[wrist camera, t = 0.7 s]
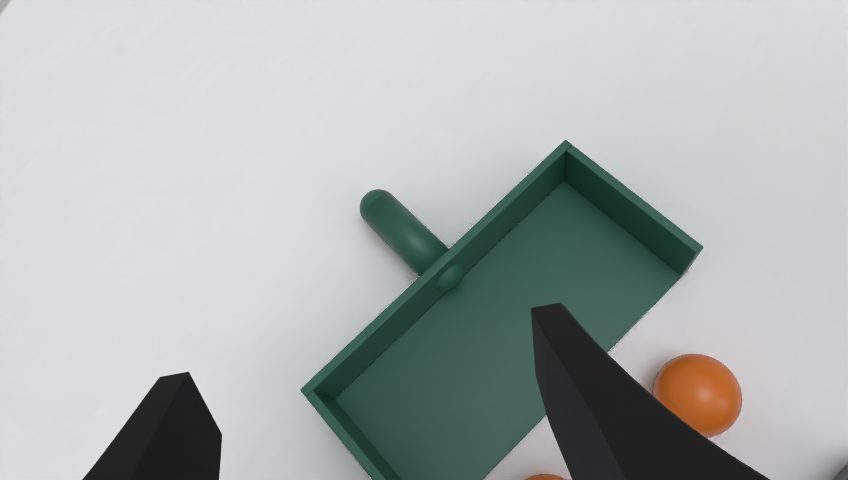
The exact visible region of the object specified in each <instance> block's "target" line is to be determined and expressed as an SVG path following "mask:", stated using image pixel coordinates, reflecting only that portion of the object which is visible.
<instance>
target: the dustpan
mask: <svg viewBox="0 0 848 480" xmlns="http://www.w3.org/2000/svg"><path fill="white" fill-rule="evenodd" d="M563 180H564V181H563ZM562 181H563V182H562ZM561 182H562V183H561ZM560 183H561V184H560ZM559 184H560V185H559ZM558 185H559V186H558ZM547 195H548V196H547ZM546 196H547V197H546ZM545 197H546V198H545ZM544 198H545V199H544ZM543 199H544V200H543ZM542 200H543V201H542ZM541 201H542V202H541ZM540 202H541V203H540ZM539 203H540V204H539ZM538 204H539V205H538ZM537 205H538V206H537ZM360 213H361V216H362V218H363V219H364V220H365V222H366V223H367V224H368V225H369V226H370V227H371V228H372V229H373V230H374V231H375V232H376V233H377V234H378V235H379V236H380V237H381V238H382V239H383V240H384V241H385V242H386V243H387V244H388V245H389V246H390V247H391V248H392V249H393V250H394V251H395V252H396V253H397V254H398V255H399V256H400V257H401V258H402V259H403V260H404V261H405V262H406V263H407V264H408V265H409V266H410V267H411V268H412V269H413V270H414V271H415V272H416V273H417V274H418V275H419V276H420V277H419V278H418V279H417V280H416V281H415V282H414V283H413V284H412V285H411V286H410V287H409V288H408V289H407V290H406V291H404V292H403V293H402V294H401V295H400V296H399V297H398V298H397V299H396V300H395V301H394V302H393V303H392V304H391V305H390V306H389V307H387V308H386V309H385V310H384V311H383V312H382V313H381V314H380V315H379V316H378V317H377V318H376V319H375V320H374V321H373V322H372V323H371V324H369V325H368V326H367V327H366V328H365V329H364V330H363V331H362V332H361V333H360V334H359V335H358V336H357V337H356V338H355V339H354V340H352V341H351V342H350V343H349V344H348V345H347V346H346V347H345V348H344V349H343V350H342V351H341V352H340V353H339V354H338V355H337V356H335V357H334V358H333V359H332V360H331V361H330V362H329V363H328V364H327V365H326V366H325V367H324V368H323V369H322V370H321V371H320V372H318V373H317V374H316V375H315V376H314V377H313V378H312V379H311V380H310V381H309V382H308V383H307V384H306V385H305V386H304V387H303V388H302V389H301V392H302V393H303V394H304V396H306V398H307V399H308V400H309V402H310V403H311V404H312V405H313V407H314V408H315V409H316V410H317V412H318V413H319V414H320V415H321V417H322V418H323V419H324V420H325V421H326V423H327V424H328V425H329V426H330V428H331V429H332V430H333V431H334V433H335V434H336V435H337V436H338V438H339V439H340V440H341V441H342V442H343V444H344V445H345V446H346V447H347V449H348V450H349V451H350V452H351V454H352V455H353V456H354V457H355V459H356V460H357V461H358V462H359V463H360V465H361V466H362V467H363V468H364V470H365V471H366V472H367V473H368V475H369V476H370V477H371V478H372V480H482V479H483V478H484V477H485V476H486V475H487V474H488V473H489V472H490V471H491V470H492V469H493V468H494V467H495V466H496V465H497V464H498V463H499V462H500V461H501V460H502V459H503V458H504V457H505V456H506V455H507V454H508V453H509V452H510V451H511V450H512V449H513V448H514V447H515V446H516V445H517V444H518V443H519V442H520V441H521V440H522V438H523V437H524V436H525V435H526V434H527V433H528V432H529V431H530V430H531V429H532V428H533V427H534V426H535V425H536V424H537V423H538V422H539V421H540V420H541V419H542V418H543V417H544V416H545V415H546V411H545V407H544V404H543V400H542V397H541V393H540V390H539V386H538V383H537V379H536V374H535V360H534V347H533V333H532V319H531V308H533V307H538V306H543V305H549V304H554V303H561V304H563V305H564V306H565V307H566V308H567V309H568V310H569V312H570V313H571V314H572V315H573V316H574V318H575V319H576V320H577V321H578V322H579V323H580V325H581V326H582V327H583V328H584V329H585V330H586V331H587V332H588V334H589V335H590V336H591V337H592V338H593V339H594V340H595V341H596V342H597V343H598V344H599V345H600V346H601V347H602V348H603V349H604V350H605V352H606V353H607V352H608V351H609V350H610V349H611V348H612V347H613V346H614V345H615V344H616V343H617V342H618V341H619V340H620V339H621V338H622V337H623V336H624V335H625V334H626V333H627V332H628V331H629V330H630V329H631V328H632V327H633V326H634V325H635V324H636V323H637V322H638V320H639V319H640V318H641V317H642V316H643V315H644V314H645V313H646V312H647V311H648V310H649V309H650V308H651V307H652V306H653V305H654V304H655V303H656V302H657V301H658V300H659V299H660V298H661V297H662V296H663V295H664V294H665V293H666V292H667V291H668V290H669V289H670V288H671V287H672V286H673V285H674V284H675V283H676V282H677V281H678V280H679V279H680V278H681V277H682V276H683V275H684V274H685V273H686V272H687V271H688V269H689V267H690V266H691V265H692V263H693V262H694V260H695V259H696V257H697V256H698V254H699V253H700V252H701V250H702V249H703V246H702V245H700V244H699V243H698V242H696V241H695V240H694V239H693V238H691V237H690V236H689V235H687V234H686V233H685V232H684V231H682V230H681V229H680V228H678V227H677V226H676V225H675V224H673V223H672V222H671V221H669V220H668V219H667V218H666V217H664V216H663V215H662V214H660V213H659V212H658V211H657V210H655V209H654V208H653V207H651V206H650V205H649V204H648V203H646V202H645V201H644V200H642V199H641V198H640V197H639V196H637V195H636V194H635V193H633V192H632V191H631V190H630V189H628V188H627V187H626V186H624V185H623V184H622V183H621V182H619V181H618V180H617V179H615V178H614V177H613V176H612V175H610V174H609V173H608V172H606V171H605V170H604V169H603V168H601V167H600V166H599V165H597V164H596V163H595V162H594V161H592V160H591V159H590V158H588V157H587V156H586V155H585V154H583V153H582V152H581V151H579V150H578V149H577V148H576V147H574V146H573V145H572V144H570V143H569V142H568V141H567V140H565V141H564V142H563V143H562V144H561V145H559V146H558V147H557V148H556V149H555V150H554V151H553V152H552V153H551V154H550V155H549V156H548V157H547V158H546V159H545V160H544V161H542V162H541V163H540V164H539V165H538V166H537V167H536V168H535V169H534V170H533V171H532V172H531V173H530V174H529V175H528V176H527V177H526V178H524V179H523V180H522V181H521V182H520V183H519V184H518V185H517V186H516V187H515V188H514V189H513V190H512V191H511V192H510V193H509V194H507V195H506V196H505V197H504V198H503V199H502V200H501V201H500V202H499V203H498V204H497V205H496V206H495V207H494V208H493V209H492V210H490V211H489V212H488V213H487V214H486V215H485V216H484V217H483V218H482V219H481V220H480V221H479V222H478V223H477V224H476V225H475V226H473V227H472V228H471V229H470V230H469V231H468V232H467V233H466V234H465V235H464V236H463V237H462V238H461V239H460V240H459V241H458V242H457V243H455V244H454V245H453V246H452V247H451V248H450V249H448V248H447V247H446V246H445V245H444V244H443V243H442V242H441V241H440V240H439V239H438V238H437V237H436V236H435V235H434V234H433V233H431V232H430V231H429V230H428V229H427V228H426V227H425V226H424V225H423V224H422V223H421V222H420V221H419V220H418V219H417V218H416V217H415V216H414V215H413V214H412V213H410V212H409V211H408V210H407V209H406V208H405V207H404V206H403V205H402V204H401V203H400V202H399V201H398V200H397V199H396V198H395V197H394V196H393V195H392V194H390V193H389V192H387V191H385V190H380V189H377V190H372V191H370V192H368V193H367V194H366V195H365V196H364V197H363V199H362V200H361V203H360ZM526 215H527V216H526ZM525 216H526V217H525ZM524 217H525V218H524ZM523 218H524V219H523ZM522 219H523V220H522ZM521 220H522V221H521ZM520 221H521V222H520ZM519 222H520V223H519ZM518 223H519V224H518ZM517 224H518V225H517ZM516 225H517V226H516ZM515 226H516V227H515ZM504 236H505V237H504ZM503 237H504V238H503ZM502 238H503V239H502ZM501 239H502V240H501ZM500 240H501V241H500ZM499 241H500V242H499ZM498 242H499V243H498ZM497 243H498V244H497ZM496 244H497V245H496ZM495 245H496V246H495ZM494 246H495V247H494ZM483 256H484V257H483ZM482 257H483V258H482ZM481 258H482V259H481ZM480 259H481V260H480ZM479 260H480V261H479ZM478 261H479V262H478ZM477 262H478V263H477ZM476 263H477V264H476ZM475 264H476V265H475ZM474 265H475V266H474ZM473 266H474V267H473ZM472 267H473V268H472ZM461 277H462V278H461ZM440 297H441V298H440ZM439 298H440V299H439ZM438 299H439V300H438ZM437 300H438V301H437ZM436 301H437V302H436ZM435 302H436V303H435ZM434 303H435V304H434ZM433 304H434V305H433ZM432 305H433V306H432ZM431 306H432V307H431ZM430 307H431V308H430ZM429 308H430V309H429ZM418 318H419V319H418ZM417 319H418V320H417ZM416 320H417V321H416ZM415 321H416V322H415ZM414 322H415V323H414ZM413 323H414V324H413ZM412 324H413V325H412ZM411 325H412V326H411ZM410 326H411V327H410ZM409 327H410V328H409ZM408 328H409V329H408ZM397 338H398V339H397ZM396 339H397V340H396ZM395 340H396V341H395ZM394 341H395V342H394ZM393 342H394V343H393ZM392 343H393V344H392ZM391 344H392V345H391ZM390 345H391V346H390ZM389 346H390V347H389ZM388 347H389V348H388ZM387 348H388V349H387ZM386 349H387V350H386ZM376 358H377V359H376ZM375 359H376V360H375ZM374 360H375V361H374ZM373 361H374V362H373ZM372 362H373V363H372ZM371 363H372V364H371ZM370 364H371V365H370ZM369 365H370V366H369ZM368 366H369V367H368ZM367 367H368V368H367ZM366 368H367V369H366ZM365 369H366V370H365ZM354 379H355V380H354ZM353 380H354V381H353ZM352 381H353V382H352ZM351 382H352V383H351ZM350 383H351V384H350ZM349 384H350V385H349ZM348 385H349V386H348ZM347 386H348V387H347ZM346 387H347V388H346ZM345 388H346V389H345ZM344 389H345V390H344ZM343 390H344V391H343Z"/></svg>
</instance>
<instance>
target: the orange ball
mask: <svg viewBox="0 0 848 480" xmlns="http://www.w3.org/2000/svg"><path fill="white" fill-rule="evenodd" d="M525 480H566V479H564V478H562V477H559V476H556V475H551V474H539V475H535V476H532V477H529V478H527V479H525Z"/></svg>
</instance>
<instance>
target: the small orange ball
mask: <svg viewBox="0 0 848 480" xmlns="http://www.w3.org/2000/svg"><path fill="white" fill-rule="evenodd" d="M653 396H654V397H655V398H656V399H657V400H658V401H659V402H660V403H662V404H663V405H664V406H665V407H667V408H668V409H669V410H670V411H671V412H673V413H674V414H675V415H676V416H678V417H679V418H680V419H681V420H683V421H684V422H685V423H687V424H688V425H689V426H691V427H692V428H693V429H695V430H696V431H697V432H699V433H700V434H701V435H703V436H704V437H706V438H707V437H713V436H716V435H719V434H721V433H723V432H724V431H726V430H727V429H729V428H730V427H731V426H732V425H733V424H734V422H735V421H736V419H737V418H738V416H739V413H740V411H741V406H742V394H741V389H740V386H739V384H738V381H737V379H736V378H735V376H734V375H733V373H732V372H731V371H730V370H729V369H728V368H727V367H726V366H725V365H724V364H722V363H721V362H719V361H718V360H716V359H714V358H711V357H709V356H705V355H700V354H687V355H682V356H679V357H676V358H674V359H672V360H670V361H669V362H667V363H666V364H665V365H664V366H663V367H662V368H661V370H660V371H659V373H658V374H657V377H656V379H655V382H654V387H653Z"/></svg>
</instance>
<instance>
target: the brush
mask: <svg viewBox="0 0 848 480" xmlns="http://www.w3.org/2000/svg"><path fill="white" fill-rule="evenodd" d="M834 480H848V464H847V465H846V466H845V468H844V469H843V470H842V471H841V472H840V473H839V474H838V475H837V477H836V478H835V479H834Z"/></svg>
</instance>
